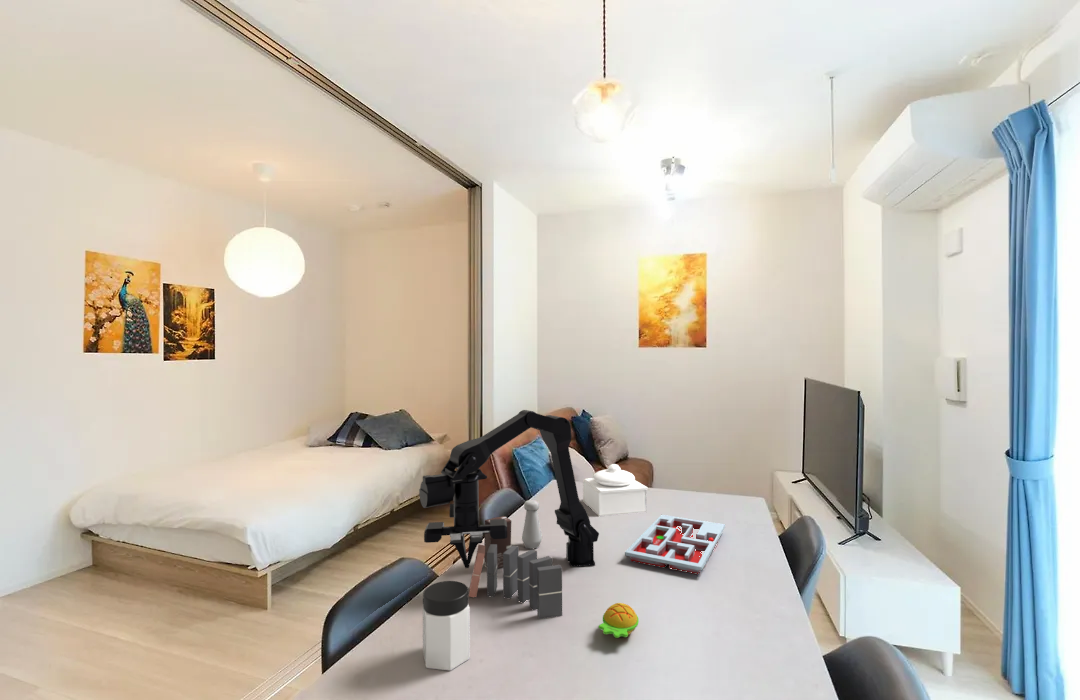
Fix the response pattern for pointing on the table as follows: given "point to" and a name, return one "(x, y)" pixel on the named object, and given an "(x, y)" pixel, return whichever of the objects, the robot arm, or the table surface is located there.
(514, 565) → the domino
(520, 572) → the domino
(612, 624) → the toy burger bun
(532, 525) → the salt shaker
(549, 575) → the domino
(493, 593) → the domino
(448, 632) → the jar
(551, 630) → the table surface
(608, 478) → the butter dish
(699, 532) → the maze game
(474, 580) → the domino
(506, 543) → the box
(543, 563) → the domino
